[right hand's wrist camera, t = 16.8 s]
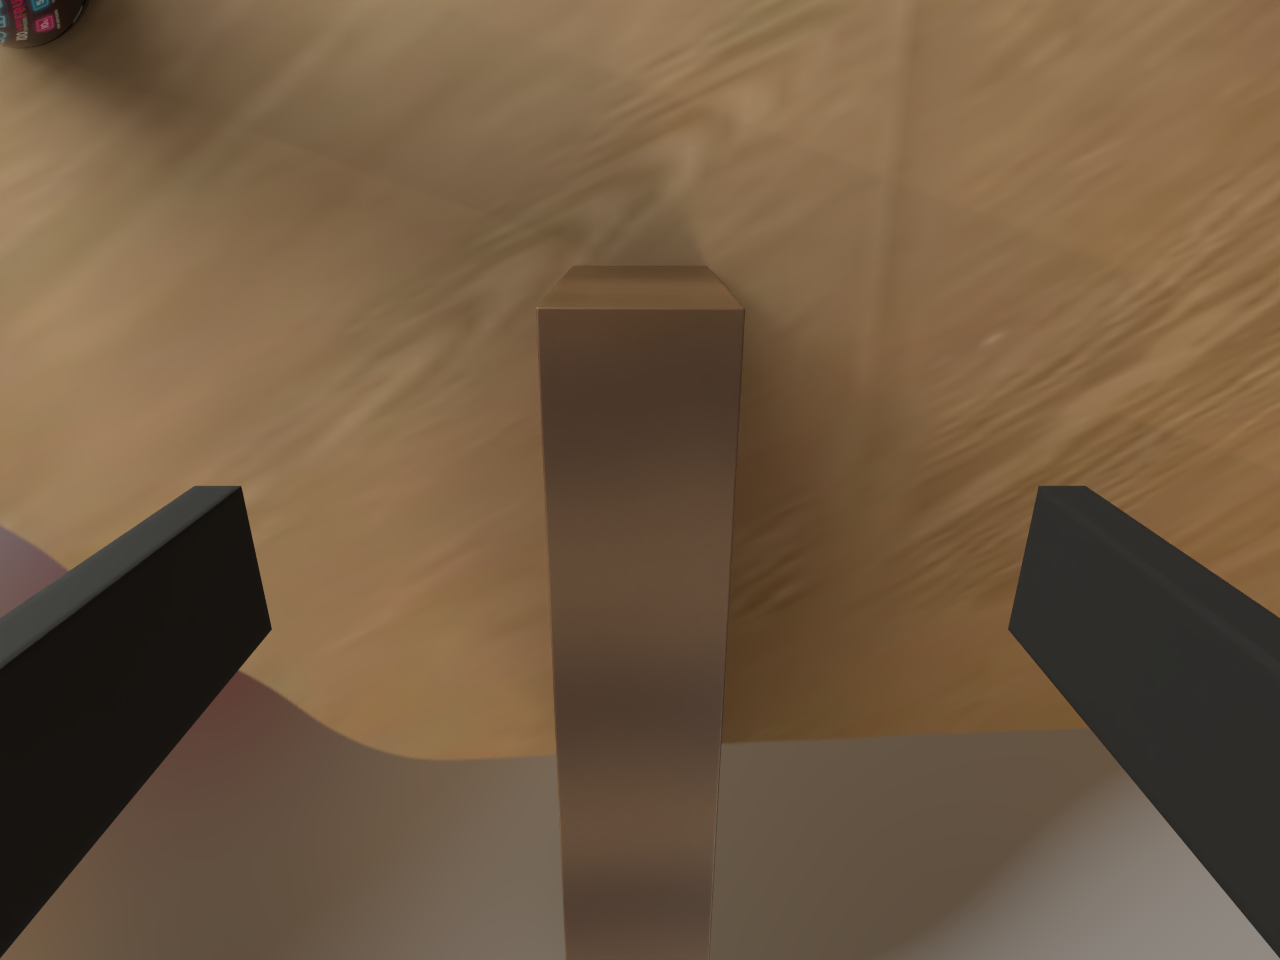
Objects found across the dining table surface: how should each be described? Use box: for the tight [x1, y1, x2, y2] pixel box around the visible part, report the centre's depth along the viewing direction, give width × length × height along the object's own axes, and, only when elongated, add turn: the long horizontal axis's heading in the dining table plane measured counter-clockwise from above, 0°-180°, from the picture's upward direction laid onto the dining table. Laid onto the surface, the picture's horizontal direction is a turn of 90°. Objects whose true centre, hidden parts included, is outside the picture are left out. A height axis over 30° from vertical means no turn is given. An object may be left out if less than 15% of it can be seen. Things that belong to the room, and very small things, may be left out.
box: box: [536, 266, 745, 960], centre depth 31 cm, size 26×6×12 cm, turn 0°
